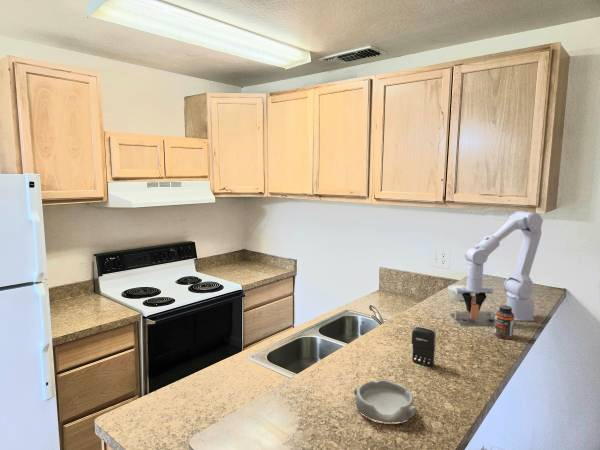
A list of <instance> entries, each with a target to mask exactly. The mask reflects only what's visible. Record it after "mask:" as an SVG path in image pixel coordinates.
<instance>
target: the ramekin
mask: <svg viewBox="0 0 600 450" xmlns="http://www.w3.org/2000/svg"><path fill="white" fill-rule="evenodd" d="M463 287H467V285H465V284H451V285H448V286H447V289H448V295H449V297H450V298H452V300H453V299H455V300H454V301H457V300H461V301H460V302H465V300H464V298H463V296H462V294H456V293H455V288H463ZM471 296H472V297H473V294H471Z"/></svg>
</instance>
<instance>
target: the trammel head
mask: <svg viewBox="0 0 600 450" xmlns="http://www.w3.org/2000/svg"><path fill="white" fill-rule="evenodd" d="M478 315H479V305H478V304H477V303H476V301H471V311H470V318H473V320H475V318H478Z"/></svg>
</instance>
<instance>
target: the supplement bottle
mask: <svg viewBox="0 0 600 450" xmlns="http://www.w3.org/2000/svg"><path fill="white" fill-rule="evenodd" d="M511 311H512V307H510V306H506V304H502V305H499V310H497V311H496V313H495V319H496V321H495V326H494V335H495V336H496V337H497V338H499V339H503V340H511V339H512V338H513V335H514V325H515V321H514V314H513V313H512V312H511Z"/></svg>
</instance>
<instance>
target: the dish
mask: <svg viewBox="0 0 600 450" xmlns="http://www.w3.org/2000/svg"><path fill="white" fill-rule="evenodd" d="M353 393H354V395H355V404H356V408H357V410H358V409H359V411H360V412H361V413H362V414H364V415H365V416H367V417H369V418H371V419H374V420H378V421H383V422H403V421H405V420H408V419H409V418H410V417H411V418H412V417H414V416H415V414H416V412H417V406H416V405H414V397H413V394H412V392H411V391H410V390H409V389H408V388H407V387H405V386H404V385H401V384H399V383H396V382H394V381H390V380H386V379H380V380H377V381H375V380H369V381H366V382H364V383H362V384H361V385H359V386H358V385H357V386H356V387H355V388H354V392H353ZM359 411H358V412H359ZM360 412H359V413H360ZM361 413H360V414H361ZM411 418H410V419H411ZM410 419H409V420H410ZM409 420H408V421H409Z"/></svg>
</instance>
